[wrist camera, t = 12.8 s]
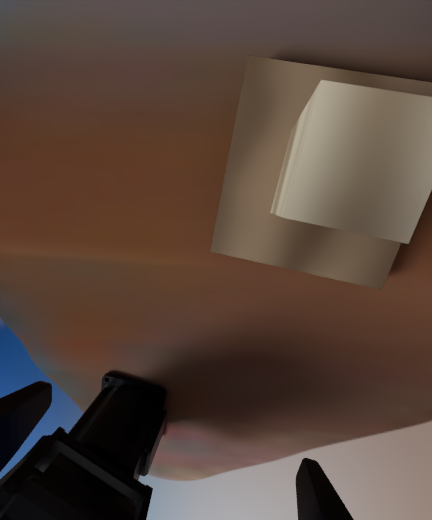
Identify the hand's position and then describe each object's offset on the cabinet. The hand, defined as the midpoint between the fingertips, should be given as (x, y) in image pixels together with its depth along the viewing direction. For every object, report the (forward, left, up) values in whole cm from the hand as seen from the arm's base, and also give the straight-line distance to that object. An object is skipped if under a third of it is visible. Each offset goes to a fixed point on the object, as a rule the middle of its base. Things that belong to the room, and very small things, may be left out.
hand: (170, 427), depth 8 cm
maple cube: (+5, +10, -10) cm, 15 cm away
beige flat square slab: (+5, +10, -12) cm, 16 cm away
